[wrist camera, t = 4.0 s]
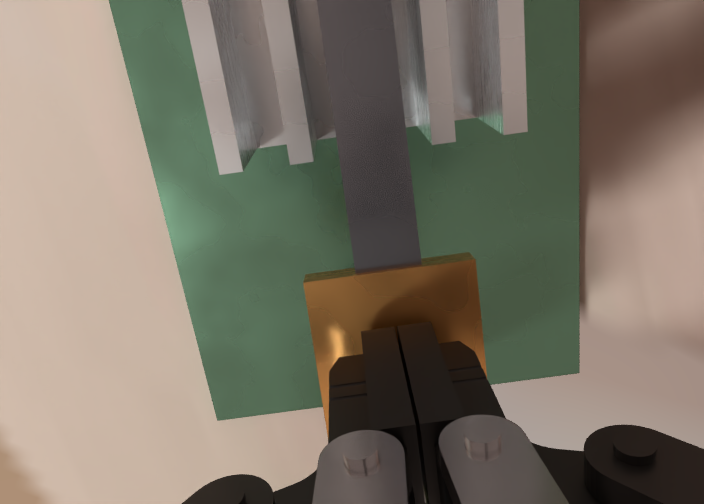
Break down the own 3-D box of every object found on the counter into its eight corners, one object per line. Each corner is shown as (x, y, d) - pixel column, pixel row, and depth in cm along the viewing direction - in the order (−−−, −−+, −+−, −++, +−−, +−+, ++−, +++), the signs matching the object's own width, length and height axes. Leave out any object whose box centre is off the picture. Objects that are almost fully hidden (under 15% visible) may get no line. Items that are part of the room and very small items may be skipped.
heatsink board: (-25, -540, 13) (-299, -970, 7) (572, -640, 13) (762, -1168, 7) (219, 414, 22) (179, 550, 16) (575, 366, 22) (660, 489, 16)
